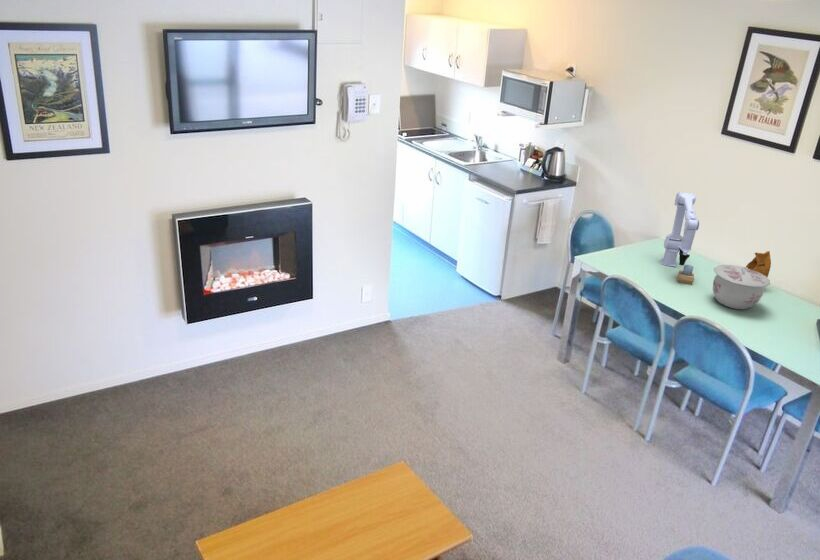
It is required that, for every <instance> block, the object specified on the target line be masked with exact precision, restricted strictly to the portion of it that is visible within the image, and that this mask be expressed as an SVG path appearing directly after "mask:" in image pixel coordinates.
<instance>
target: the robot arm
mask: <svg viewBox="0 0 820 560" xmlns="http://www.w3.org/2000/svg"><path fill="white" fill-rule="evenodd" d="M696 200H697V195H696V194H695V193H691V192H690V193H689V192H688V193H687V192H680V191H678V192H677V193H676V195H675V199H674V205H675V206H676V211H675V216H674V221H673V227H672V230H671V233H669V234H667V235H666V236H665V238H664V243H663V248H664V249H665V250H664V254H663V258H661V265H665V266H668V267H672V268H673V267H675V268H676V265H677V264H676V263H677V258H678V255H679V258H678V259H679V264H678V265H680V266H684V265H685V264H686V261H687V260H688V259H689V258H690V254H688V253H689V252H690V251H691V250H692V245H693V243H694V239H695V235H696V232H697V231H698V229H699V228H700V227H699V226H700V220H699V219H698V218H697V214H696V211H695V210H694V204H695V203H696ZM684 220H685V222H684ZM683 223H684V228H683ZM682 228H683V235H681V234H682V233H681V232H682Z"/></svg>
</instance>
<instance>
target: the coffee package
mask: <svg viewBox="0 0 820 560" xmlns="http://www.w3.org/2000/svg"><path fill="white" fill-rule="evenodd" d="M754 255H755V256H754V258H753V259H752V260H751V261H750V262H748V263H747V264H746V265H745V267H748V268H749V269H752V270H755V271H757V272H759V273H761V274H763V275H765V276H766V277H767V278H769V276H770V275H769V274H770V271H771V267H772V266H771V265H772V259H771V252H770V251H769V250H767V251H765V252H764V253H762V252H756V251H755V253H754Z"/></svg>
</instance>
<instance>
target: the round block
mask: <svg viewBox="0 0 820 560" xmlns="http://www.w3.org/2000/svg"><path fill="white" fill-rule="evenodd" d="M694 268H695V267H694V266H693V265H690V264H684V265H683V269H682V271H683V272H682V273H683V274H684V275H688V276H690V275H692V273H693V272H694Z"/></svg>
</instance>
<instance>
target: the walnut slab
mask: <svg viewBox="0 0 820 560" xmlns="http://www.w3.org/2000/svg"><path fill="white" fill-rule="evenodd" d="M676 283H679V284H683V285H689V286H693V283H694V281H693V282H690V281H685V280H680V279H678V274H677V277H676Z"/></svg>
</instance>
